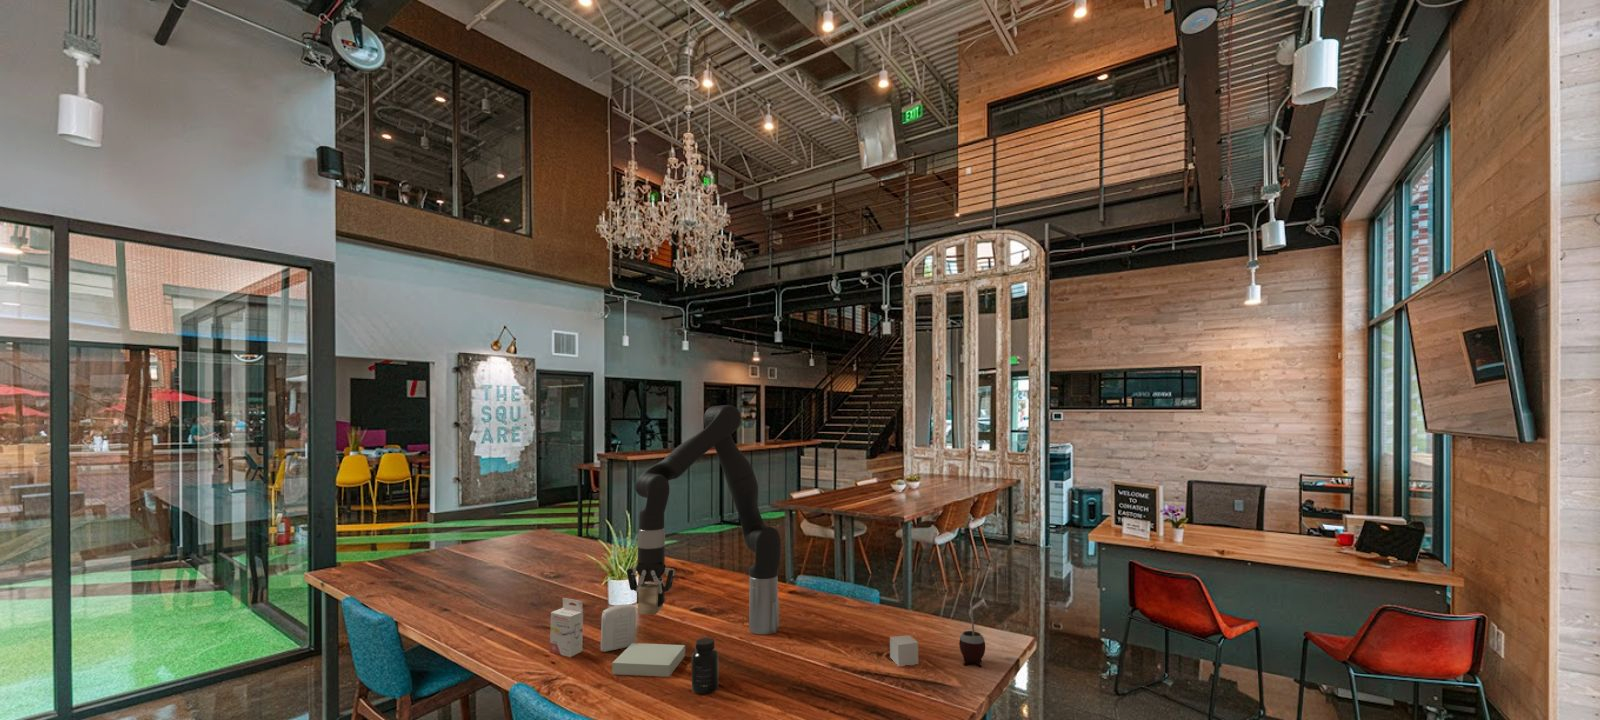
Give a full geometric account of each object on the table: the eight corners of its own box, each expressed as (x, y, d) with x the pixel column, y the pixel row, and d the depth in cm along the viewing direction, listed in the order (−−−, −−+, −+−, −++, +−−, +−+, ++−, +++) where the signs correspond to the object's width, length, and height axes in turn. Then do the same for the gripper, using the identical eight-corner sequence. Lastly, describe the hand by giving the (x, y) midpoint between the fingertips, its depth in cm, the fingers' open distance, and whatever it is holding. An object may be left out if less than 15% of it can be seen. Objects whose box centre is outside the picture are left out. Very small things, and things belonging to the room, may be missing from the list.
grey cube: (909, 656, 179) (909, 635, 179) (918, 664, 173) (918, 642, 173) (890, 658, 177) (889, 637, 178) (898, 667, 171) (898, 644, 172)
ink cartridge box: (548, 652, 182) (549, 601, 184) (561, 646, 187) (562, 597, 188) (570, 657, 179) (571, 605, 180) (583, 651, 183) (584, 600, 184)
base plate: (685, 655, 180) (685, 645, 180) (669, 676, 166) (669, 665, 166) (632, 653, 181) (632, 643, 182) (612, 674, 168) (612, 662, 168)
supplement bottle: (692, 683, 162) (693, 636, 163) (719, 682, 162) (719, 635, 163) (690, 695, 155) (690, 646, 156) (717, 694, 155) (717, 645, 156)
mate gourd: (972, 670, 169) (970, 614, 170) (952, 660, 176) (951, 606, 177) (992, 665, 172) (990, 609, 173) (972, 655, 179) (971, 602, 180)
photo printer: (632, 641, 191) (633, 600, 192) (637, 646, 187) (637, 604, 188) (598, 649, 185) (599, 606, 186) (602, 653, 182) (603, 610, 182)
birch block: (662, 607, 177) (663, 582, 178) (655, 614, 171) (655, 588, 172) (645, 606, 178) (646, 582, 178) (638, 613, 172) (638, 588, 173)
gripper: (679, 542, 179) (679, 602, 178) (632, 541, 181) (631, 600, 179) (671, 548, 172) (670, 611, 170) (622, 546, 173) (620, 609, 172)
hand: (650, 605), depth 175 cm, fingers closed on birch block, 5 cm apart
